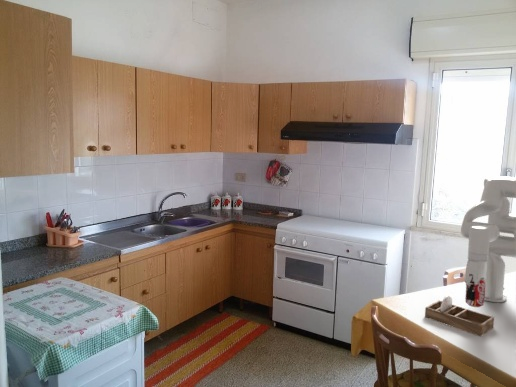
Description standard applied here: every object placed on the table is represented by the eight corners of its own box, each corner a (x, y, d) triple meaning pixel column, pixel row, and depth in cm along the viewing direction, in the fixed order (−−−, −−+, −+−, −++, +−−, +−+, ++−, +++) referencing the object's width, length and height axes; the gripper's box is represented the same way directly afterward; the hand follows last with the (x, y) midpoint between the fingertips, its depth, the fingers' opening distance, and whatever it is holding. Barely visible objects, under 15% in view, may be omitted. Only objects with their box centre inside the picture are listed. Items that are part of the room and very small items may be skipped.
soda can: (473, 309, 177) (475, 280, 175) (461, 302, 183) (463, 275, 182) (487, 307, 178) (490, 279, 177) (475, 300, 185) (477, 273, 184)
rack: (438, 309, 200) (439, 300, 199) (493, 327, 182) (494, 317, 181) (424, 317, 192) (425, 307, 192) (480, 336, 174) (481, 325, 174)
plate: (449, 312, 194) (451, 293, 193) (451, 313, 194) (452, 294, 192) (439, 318, 189) (441, 298, 187) (441, 319, 188) (442, 299, 187)
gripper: (477, 250, 186) (474, 290, 189) (458, 258, 175) (456, 300, 178) (496, 254, 181) (493, 295, 183) (477, 262, 169) (474, 305, 172)
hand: (474, 297), depth 180 cm, fingers closed on soda can, 7 cm apart
